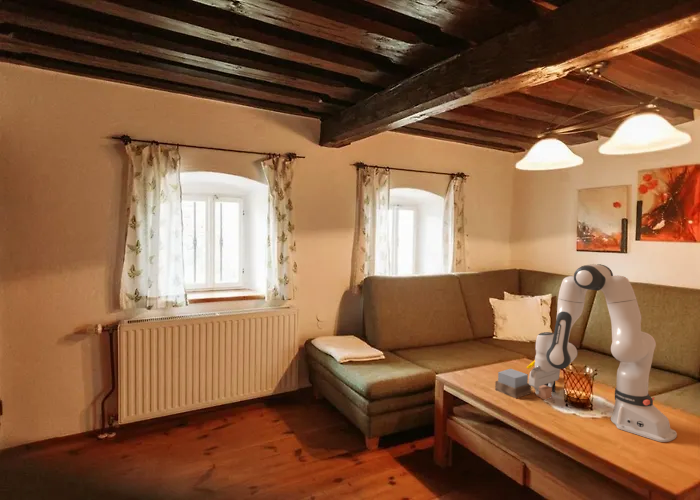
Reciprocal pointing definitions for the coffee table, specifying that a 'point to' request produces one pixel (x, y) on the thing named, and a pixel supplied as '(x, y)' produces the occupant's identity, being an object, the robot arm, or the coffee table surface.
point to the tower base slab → (513, 390)
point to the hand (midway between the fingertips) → (543, 391)
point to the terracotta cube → (545, 392)
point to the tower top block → (512, 378)
